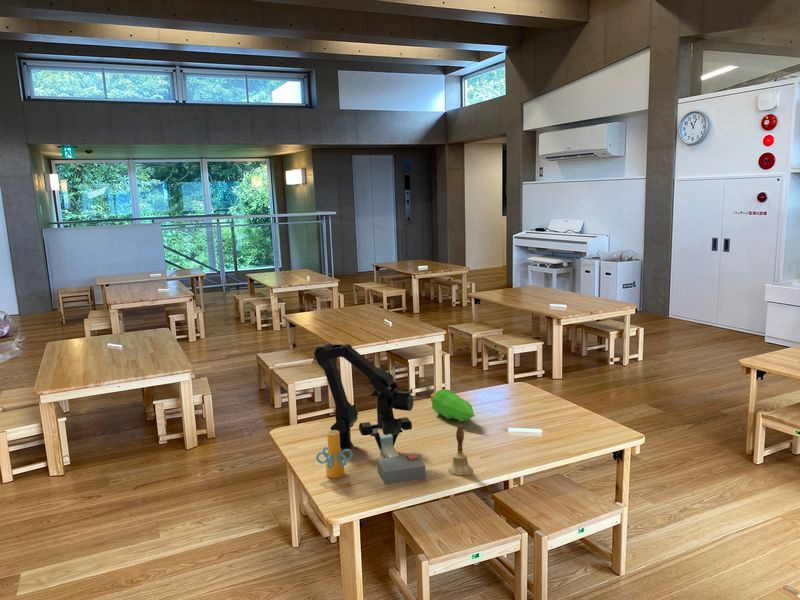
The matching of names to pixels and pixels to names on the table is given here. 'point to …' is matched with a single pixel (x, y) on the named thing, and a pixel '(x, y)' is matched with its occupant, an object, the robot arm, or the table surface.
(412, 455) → the plunger
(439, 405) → the decorative tree
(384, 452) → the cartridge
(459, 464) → the hand bell
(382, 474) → the housing
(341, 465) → the orange vase with handles
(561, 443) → the table surface
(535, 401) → the table surface
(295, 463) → the table surface
